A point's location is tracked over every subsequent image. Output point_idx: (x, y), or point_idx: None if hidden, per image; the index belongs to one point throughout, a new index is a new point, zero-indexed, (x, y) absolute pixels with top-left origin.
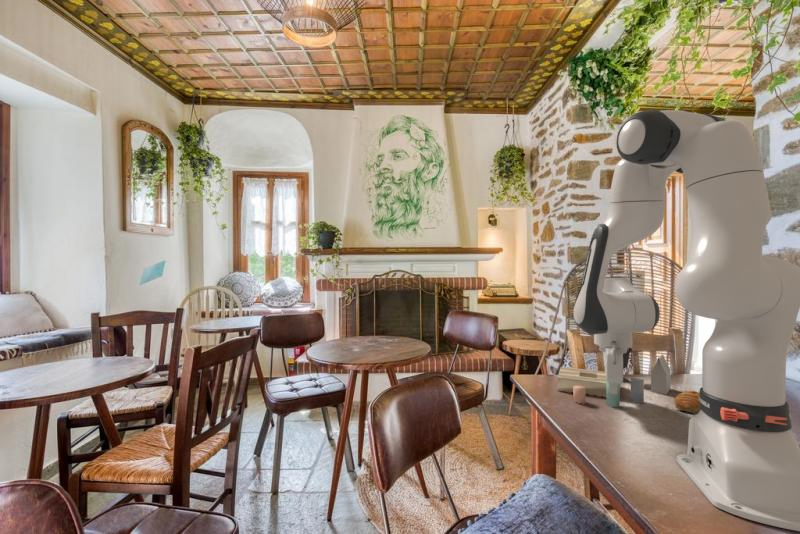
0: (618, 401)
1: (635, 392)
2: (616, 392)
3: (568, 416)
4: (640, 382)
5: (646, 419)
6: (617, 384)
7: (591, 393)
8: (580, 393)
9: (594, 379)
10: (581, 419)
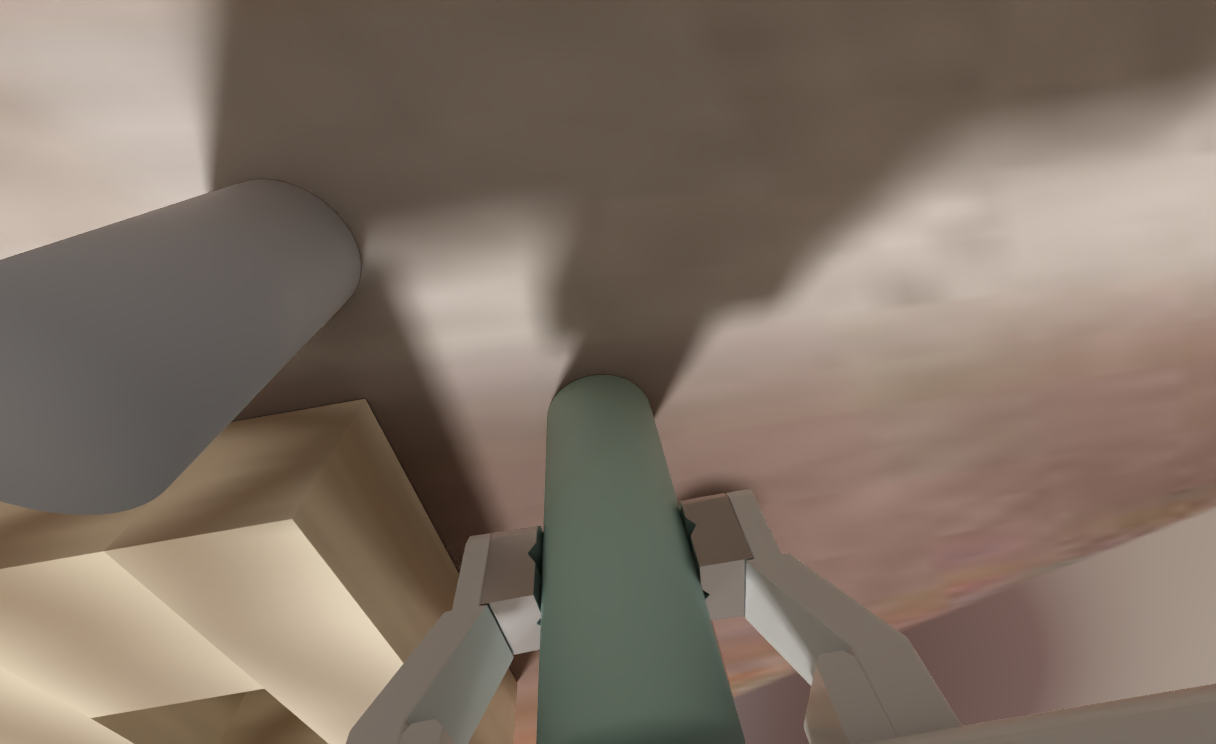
0: (628, 411)
1: (301, 317)
2: (754, 504)
3: (945, 559)
4: (123, 336)
5: (859, 111)
6: (856, 603)
7: (450, 575)
8: (717, 642)
9: (335, 689)
10: (980, 508)
